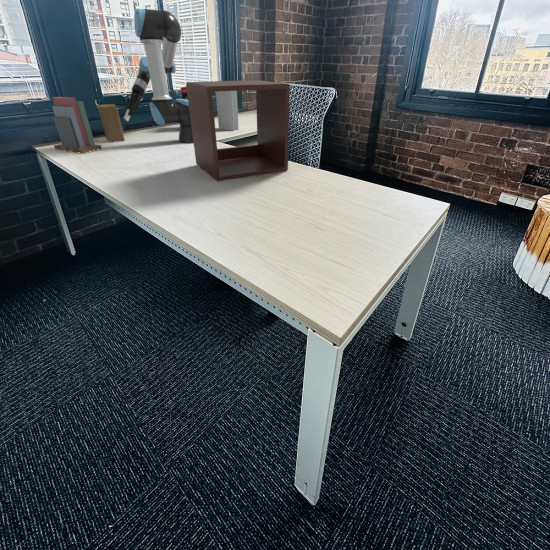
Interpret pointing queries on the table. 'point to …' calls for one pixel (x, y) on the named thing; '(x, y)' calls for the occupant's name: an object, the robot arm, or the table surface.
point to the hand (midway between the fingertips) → (125, 119)
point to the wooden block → (111, 122)
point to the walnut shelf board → (81, 150)
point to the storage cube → (269, 130)
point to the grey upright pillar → (227, 110)
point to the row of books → (72, 122)
